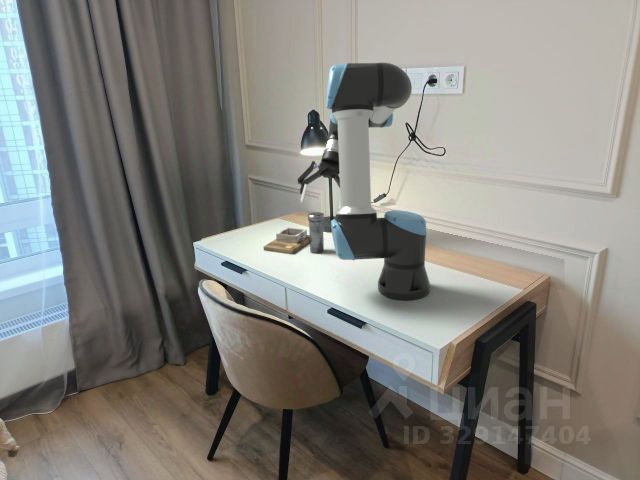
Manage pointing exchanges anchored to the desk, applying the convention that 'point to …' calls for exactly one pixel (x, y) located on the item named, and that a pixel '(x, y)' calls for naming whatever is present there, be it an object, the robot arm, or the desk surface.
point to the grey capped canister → (316, 232)
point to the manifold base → (288, 241)
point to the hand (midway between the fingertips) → (319, 206)
